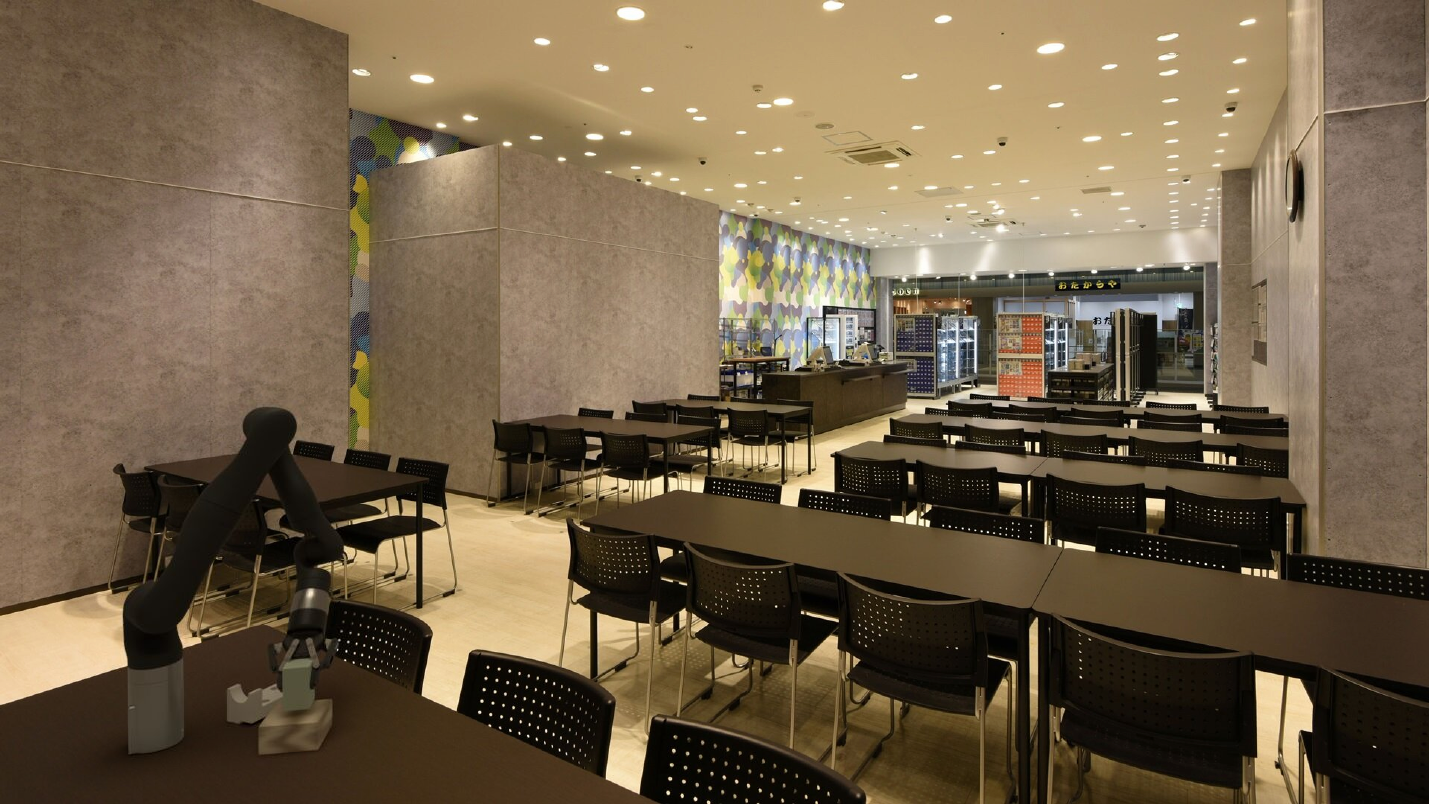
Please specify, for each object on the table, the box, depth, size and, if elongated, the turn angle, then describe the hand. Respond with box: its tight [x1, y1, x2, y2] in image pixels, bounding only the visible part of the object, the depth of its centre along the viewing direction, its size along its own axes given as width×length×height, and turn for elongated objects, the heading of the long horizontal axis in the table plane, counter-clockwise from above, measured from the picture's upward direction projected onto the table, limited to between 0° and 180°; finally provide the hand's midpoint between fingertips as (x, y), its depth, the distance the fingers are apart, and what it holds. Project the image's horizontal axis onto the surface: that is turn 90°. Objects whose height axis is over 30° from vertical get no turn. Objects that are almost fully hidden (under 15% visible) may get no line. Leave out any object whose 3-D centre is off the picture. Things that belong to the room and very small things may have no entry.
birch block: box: [258, 698, 333, 756], centre depth 158 cm, size 11×11×6 cm
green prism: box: [282, 658, 316, 711], centre depth 159 cm, size 5×5×9 cm
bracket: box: [226, 683, 283, 725], centre depth 170 cm, size 13×7×8 cm, turn 163°
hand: (297, 689), depth 157 cm, fingers closed on green prism, 5 cm apart
